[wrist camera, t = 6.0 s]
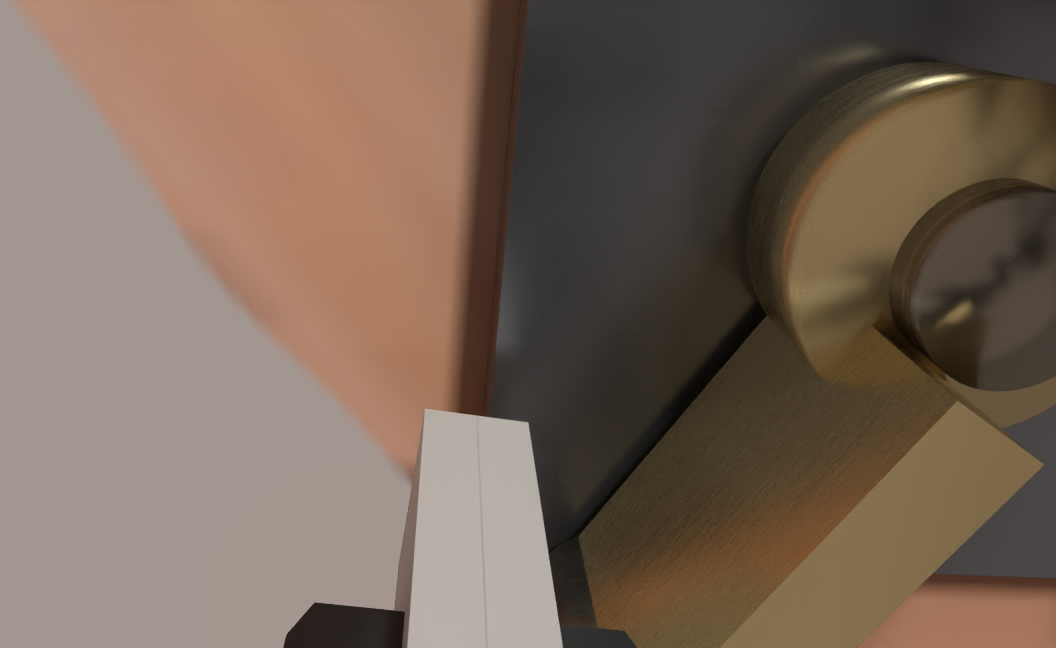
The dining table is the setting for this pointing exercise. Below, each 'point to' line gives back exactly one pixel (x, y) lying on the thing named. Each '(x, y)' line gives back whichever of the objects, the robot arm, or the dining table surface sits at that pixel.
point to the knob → (850, 377)
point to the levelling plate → (691, 219)
